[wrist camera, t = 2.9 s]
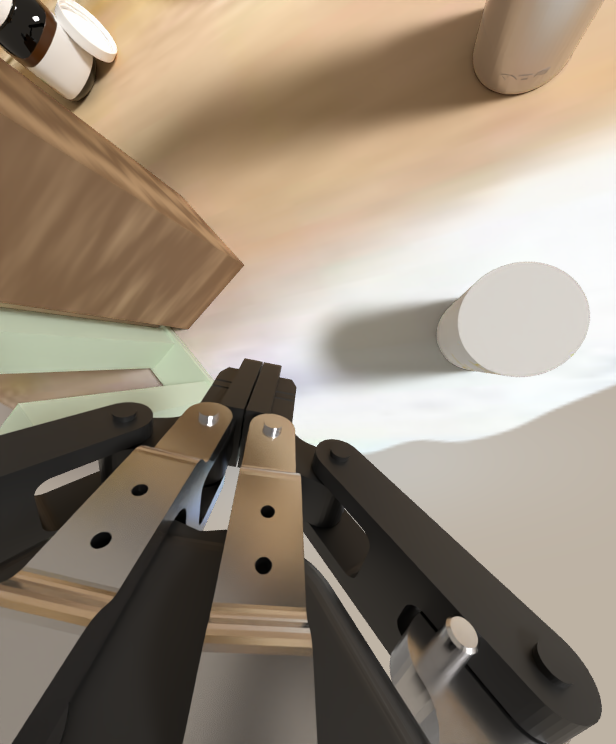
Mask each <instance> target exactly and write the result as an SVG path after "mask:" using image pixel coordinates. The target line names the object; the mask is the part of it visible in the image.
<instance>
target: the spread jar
mask: <svg viewBox="0 0 616 744" xmlns="http://www.w3.org/2000/svg"><path fill="white" fill-rule="evenodd" d="M55 15H56V16H55ZM55 15H54V14H53V13H52V12H51V11H50V10H49V9H48V8H47V7H46V6H45V5H44V4H43V3H42V2H41V1H40V0H0V47H1V48H2V49H3V50H5V51H6V52H7V53H8V54H9V55H11V56H12V57H13V58H14V59H15V60H17V61H18V62H19V63H21V64H22V65H23V66H24V67H26V68H27V69H28V70H30V71H31V72H32V73H33V74H35V75H36V76H37V77H38V78H40V79H41V80H42V81H43V82H45V83H46V84H47V85H48V86H50V87H51V88H52V89H54V90H55V91H56V92H57V93H59V94H60V95H61V96H63V97H64V98H66V99H68V100H70V101H74V102H75V101H79V100H81V99H82V98H84V97H85V96H86V95H87V94H88V93H89V92H90V91H91V89H92V87H93V85H94V82H95V77H96V62H95V59H94V57H96V58H97V59H99V60H102V61H104V62H109V63H110V62H112V61H113V60H114V58H115V56H116V53H117V46H116V44H115V42H114V40H113V38H112V37H111V35H110V34H109V32H108V31H107V30H106V29H105V27H104V26H103V25H102V24H101V23H100V22H99V21H98V20H97V19H96V18H95V17H94V16H93V15H92V14H91V13H90V12H88V11H87V10H86V9H85V8H83V7H82V6H81V5H79V4H78V3H76V2H75V1H73V0H57V4H56V7H55ZM93 56H94V57H93Z"/></svg>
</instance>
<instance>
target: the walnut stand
mask: <svg viewBox="0 0 616 744" xmlns="http://www.w3.org/2000/svg"><path fill="white" fill-rule="evenodd" d="M243 266H244V264H243V263H242V262H241V261H240V260H239V259H238V258H237V257H236V256H235V255H234V253H233V252H232V251H231V250H230V249H229V248H228V247H227V246H226V245H225V244H224V242H223V241H222V240H221V239H220V238H219V237H218V236H217V235H216V234H215V233H214V231H213V230H212V229H211V228H210V227H209V226H208V225H207V224H206V223H205V222H204V221H203V219H202V218H201V217H200V216H199V215H198V214H197V213H196V212H195V211H194V210H193V208H192V207H191V206H190V205H189V204H188V203H187V202H186V201H185V200H184V199H183V197H182V196H181V195H179V194H178V193H177V192H175V191H174V190H173V189H171V188H170V187H169V186H167V185H166V184H165V183H163V182H162V181H161V180H160V179H158V178H157V177H156V176H154V175H153V174H152V173H150V172H149V171H148V170H146V169H145V168H144V167H143V166H141V165H140V164H139V163H137V162H136V161H135V160H133V159H132V158H131V157H129V156H128V155H127V154H126V153H124V152H123V151H122V150H120V149H119V148H118V147H116V146H115V145H114V144H112V143H111V142H110V141H109V140H107V139H106V138H105V137H103V136H102V135H101V134H99V133H98V132H97V131H95V130H94V129H93V128H92V127H90V126H89V125H88V124H86V123H85V122H84V121H82V120H81V119H80V118H78V117H77V116H76V115H75V114H73V113H72V112H71V111H69V110H68V109H67V108H65V107H64V106H63V105H61V104H60V103H59V102H58V101H56V100H55V99H54V98H52V97H51V96H50V95H48V94H47V93H46V92H44V91H43V90H42V89H40V88H39V87H38V86H37V85H35V84H34V83H33V82H31V81H30V80H29V79H27V78H26V77H25V76H23V75H22V74H21V73H20V72H18V71H17V70H16V69H14V68H13V67H12V66H10V65H9V64H8V63H6V62H5V61H4V60H3V59H1V58H0V302H2V303H9V304H16V305H23V306H30V307H37V308H44V309H51V310H58V311H65V312H72V313H79V314H86V315H93V316H100V317H107V318H114V319H121V320H128V321H135V322H142V323H149V324H156V325H163V326H170V327H177V328H184V329H189V328H190V327H191V325H192V324H193V323H194V322H195V321H196V320H197V319H198V317H199V316H200V315H201V314H202V313H203V312H204V311H205V309H206V308H207V307H208V306H209V305H210V304H211V303H212V301H213V300H214V299H215V298H216V297H217V296H218V295H219V293H220V292H221V291H222V290H223V289H224V288H225V287H226V285H227V284H228V283H229V282H230V281H231V280H232V279H233V277H234V276H235V275H236V274H237V273H238V272H239V271H240V269H241V268H242V267H243Z"/></svg>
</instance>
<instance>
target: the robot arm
mask: <svg viewBox="0 0 616 744" xmlns="http://www.w3.org/2000/svg"><path fill="white" fill-rule="evenodd" d="M603 2H604V0H486V4H485V7H484V11H483V15H482V19H481V23H480V27H479V31H478V34H477V38H476V42H475V46H474V52H473V67H474V70H475V73H476V75H477V77H478V78H479V80H480V82H481V83H482V84H484V85H485V86H486V87H487V88H489V89H491V90H493V91H495V92H498V93H503V94H519V93H524V92H528V91H531V90H533V89H536V88H538V87H540V86H542V85H543V84H545V83H547V82H548V81H550V80H551V79H552V78H553V77H554V76H556V75H557V74H558V73H559V72H560V71H561V70H562V68H563V67H564V66H565V65H566V64H567V62H568V60H569V59H570V57H571V55H572V54H573V52H574V50H575V49H576V47H577V45H578V44H579V42H580V40H581V39H582V37H583V35H584V34H585V32H586V30H587V28H588V27H589V25H590V23H591V22H592V20H593V18H594V17H595V15H596V14H597V12H598V10H599V8H600V7H601V5H602V3H603ZM281 367H282V366H280V365H275V364H270V363H265V362H264V364H263V362H261V361H256V360H251V359H246V358H245V359H244V361H243V362H242V364H241V366H240V368H239V369H235V368H230V367H229V368H227V369H225V370H223V371H221V372H220V373H219V375H218V376H217V378H216V380H215V381H214V382H213V384H212V386H211V387H210V388H209V390H208V391H207V393H206V395H205V396H204V398H203V399H202V401H201V402H200V403H198V404H194V405H192V406H190V407H189V408H188V409H187V410H186V411H185V412H184V413H183V414H182V415H181V416H179V417H169V418H153V412H152V410H151V409H150V408H149V407H148V406H146V405H144V404H141V403H135V402H122V403H116V404H112V405H109V406H105V407H101V408H98V409H94V410H90V411H87V412H83V413H79V414H76V415H72V416H68V417H65V418H61V419H57V420H54V421H50V422H46V423H43V424H39V425H35V426H32V427H28V428H24V429H21V430H17V431H13V432H10V433H6V434H2V435H0V744H569V742H570V740H571V738H573V737H574V736H576V735H578V734H579V733H581V732H582V731H584V730H586V729H587V728H589V727H591V726H592V725H594V724H595V723H597V722H598V720H599V719H600V716H601V712H602V708H601V707H602V705H601V699H600V695H599V692H598V689H597V687H596V685H595V682H594V680H593V678H592V676H591V675H590V673H589V671H588V669H587V668H586V666H585V665H584V663H583V662H582V661H581V659H580V658H579V657H578V655H577V654H576V653H575V652H574V651H573V650H572V648H570V646H569V645H568V644H567V643H566V642H565V641H564V640H563V639H562V638H561V637H559V636H558V635H557V634H556V633H555V632H554V631H553V630H552V629H551V628H550V627H549V626H548V625H546V623H544V622H543V621H542V620H541V619H540V618H539V617H538V616H537V615H536V614H535V613H533V612H532V611H531V610H530V609H529V608H528V607H527V606H526V605H525V604H524V603H523V602H522V601H521V600H519V599H518V598H517V597H516V596H515V595H514V594H513V593H512V592H511V591H510V590H509V589H508V588H506V587H505V586H504V585H503V584H502V583H501V582H500V581H499V580H498V579H497V578H495V577H494V576H493V575H492V574H491V573H490V572H489V571H488V570H487V569H486V568H485V567H484V566H483V565H481V564H480V563H479V562H478V561H477V560H476V559H475V558H474V557H473V556H472V555H471V554H469V553H468V552H467V551H466V550H465V549H464V548H463V547H462V546H461V545H460V544H459V543H458V542H456V541H455V540H454V539H453V538H452V537H451V536H450V535H449V534H448V533H447V532H446V531H444V530H443V529H442V528H441V527H440V526H439V525H438V524H437V523H436V522H435V521H434V520H433V519H431V518H430V517H429V516H428V515H427V514H426V513H425V512H424V511H423V510H422V509H421V508H420V507H418V506H417V505H416V504H415V503H414V502H413V501H412V500H411V499H410V498H409V497H408V496H407V495H405V494H404V493H403V492H402V491H401V490H400V489H399V488H398V487H397V486H395V484H393V483H392V482H391V481H390V480H389V479H388V478H387V477H386V476H385V475H384V474H383V473H382V472H380V471H379V470H378V469H377V468H376V467H375V466H374V465H373V464H372V463H371V462H370V461H369V460H367V459H366V458H365V457H364V456H363V455H362V454H361V453H360V452H359V451H358V450H357V449H355V448H354V447H353V446H351V445H350V444H348V443H346V442H343V441H340V440H335V439H329V440H324V441H322V442H320V443H319V444H318V445H317V447H315V446H313V445H310V444H308V443H306V442H304V441H303V440H301V439H300V438H298V437H297V436H296V434H295V428H294V425H293V424H292V419H293V411H294V402H295V394H296V386H295V384H294V382H293V381H292V380H290V379H285V378H280V372H281ZM238 458H239V461H238ZM96 460H99V469H100V471H99V472H96V473H93V474H91V475H88V476H86V477H84V478H82V479H79V480H76V481H74V482H71V483H69V484H66V485H64V486H62V487H59V488H57V489H54V490H52V491H49V492H47V493H44V494H42V495H37V496H34V494H35V491H36V489H37V488H38V487H39V486H40V485H41V484H42V483H43V482H44V481H46V480H48V479H50V478H52V477H55V476H57V475H60V474H62V473H65V472H67V471H70V470H73V469H75V468H78V467H81V466H83V465H86V464H88V463H91V462H94V461H96ZM237 461H238V467H239V468H240V471H239V476H238V481H237V486H236V491H235V496H234V501H233V505H232V510H231V515H230V520H229V525H228V530H215V531H203V529H204V527H205V525H206V523H207V520H208V518H209V516H210V514H211V511H212V509H213V507H214V505H215V503H216V501H217V499H218V496H219V494H220V492H221V490H222V488H223V485H224V480H225V472H226V469H227V466H228V465H229V466H234V467H236V464H237ZM344 508H345V509H346V510H347V511H348V512H349V513H350V515H351V516H352V517H353V518H354V519H355V520H356V521H357V522H358V524H359V525H360V526H361V527H362V529H363V530H364V531H365V533H364V531H363V530H362V529H361V528H360V527H359V525H358V524H357V523H356V522H355V521H354V520H353V519H352V517H351V516H350V515H349V514H348V513H347V511H346V510H345V509H344ZM303 532H304V534H305V535H306V536H307V538H308V539H309V541H310V542H311V543H312V545H313V546H314V548H315V549H316V550H317V552H318V553H319V555H320V556H321V558H322V559H323V561H324V562H325V563H326V565H327V566H328V568H329V569H330V570H331V572H332V573H333V575H334V576H335V578H336V579H337V580H338V582H339V583H340V585H341V586H342V588H343V589H344V590H345V592H346V593H347V595H348V596H349V597H350V599H351V600H352V602H353V603H354V605H355V606H356V607H357V609H358V610H359V612H360V613H361V614H362V616H363V617H364V619H365V620H366V622H367V623H368V624H369V626H370V627H371V629H372V630H373V631H374V633H375V634H376V636H377V637H378V639H379V640H380V641H381V643H382V644H383V646H384V647H385V649H386V650H387V651H388V653H389V654H390V656H391V658H390V675H391V680H392V682H391V680H390V678H389V677H388V675H387V674H386V672H385V671H384V669H383V667H382V666H381V664H380V663H379V661H378V660H377V658H376V656H375V655H374V653H373V652H372V650H371V649H370V647H369V645H368V644H367V642H366V641H365V639H364V638H363V636H362V635H361V633H360V631H359V630H358V628H357V627H356V625H355V623H354V622H353V620H352V619H351V617H350V616H349V614H348V612H347V611H346V609H345V608H344V606H343V605H342V603H341V601H340V600H339V598H338V597H337V595H336V594H335V592H334V590H333V589H332V587H331V586H330V584H329V583H328V582H327V580H326V579H325V578H324V576H323V575H322V574H321V573H320V572H319V571H318V570H317V569H316V568H315V567H314V566H313V565H312V564H311V563H310V562H309V561H307V560H306V559H305V558H304V543H303Z"/></svg>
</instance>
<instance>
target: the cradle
mask: <svg viewBox="0 0 616 744" xmlns="http://www.w3.org/2000/svg"><path fill="white" fill-rule="evenodd" d="M140 368H150V369H151V370H152V371H153V373H154V374H155V375H156V376H157V378H158V379H159V380H160V381H161V383H162V384H163V385H164V386H160V387H152V388H144V389H135V390H127V391H118V392H110V393H102V394H93V395H85V396H77V397H68V398H60V399H52V400H43V401H35V402H27V403H18V405H17V406H16V407H15V409H14V410H13V411H12V413H11V414H10V415H9V417H8V418H7V419H6V420H5V422H4V423H3V425H2V426H1V427H0V435H2V434H6V433H10V432H13V431H17V430H21V429H24V428H28V427H32V426H35V425H39V424H43V423H46V422H50V421H54V420H57V419H61V418H65V417H68V416H72V415H76V414H79V413H83V412H87V411H90V410H94V409H98V408H101V407H105V406H109V405H112V404H116V403H122V402H135V403H141V404H144V405H146V406H148V407H149V408H150V409H151V410H152V412H153V418H169V417H179V416H181V415H182V414H183V413H184V412H185V411H186V410H187V409H188V408H189V407H190V406H192V405H194V404H198V403H200V402H201V401H202V399H203V398H204V396H205V395H206V393H207V391H208V390H209V388H210V387H211V386H212V384H213V382H214V380H213V379H212V378H211V376H210V375H209V374H208V373H207V372H206V370H205V369H204V368H203V367H202V365H201V364H200V363H199V362H198V361H197V359H196V358H195V357H194V356H193V354H192V353H191V352H190V351H189V350H188V348H187V347H186V346H185V345H184V344H183V342H182V341H181V340H180V339H179V337H178V336H177V335H176V334H175V333H174V331H173V330H172V329H171V328H170V326H163V325H161V326H160V327H159V328H156V327H148V326H141V325H133V324H126V323H118V322H110V321H103V320H95V319H87V318H80V317H72V316H64V315H57V314H49V313H41V312H34V311H26V310H18V309H11V308H3V307H0V374H13V373H39V372H64V371H90V370H115V369H140Z"/></svg>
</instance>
